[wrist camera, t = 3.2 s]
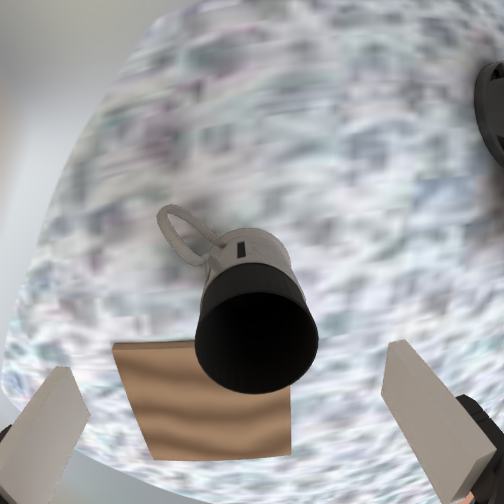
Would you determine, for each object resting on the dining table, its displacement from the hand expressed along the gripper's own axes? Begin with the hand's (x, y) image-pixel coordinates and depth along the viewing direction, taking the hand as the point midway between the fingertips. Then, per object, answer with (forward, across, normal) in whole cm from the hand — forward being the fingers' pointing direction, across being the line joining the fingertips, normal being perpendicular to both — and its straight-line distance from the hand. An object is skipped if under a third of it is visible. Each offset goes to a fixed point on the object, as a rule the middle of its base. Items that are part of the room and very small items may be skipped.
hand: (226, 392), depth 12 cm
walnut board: (+22, -5, -20) cm, 30 cm away
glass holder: (+22, 0, 0) cm, 22 cm away
